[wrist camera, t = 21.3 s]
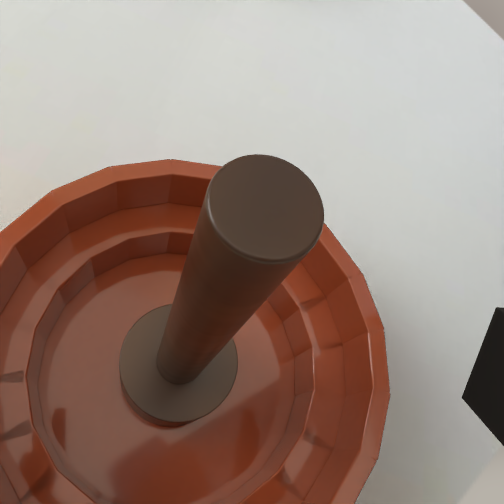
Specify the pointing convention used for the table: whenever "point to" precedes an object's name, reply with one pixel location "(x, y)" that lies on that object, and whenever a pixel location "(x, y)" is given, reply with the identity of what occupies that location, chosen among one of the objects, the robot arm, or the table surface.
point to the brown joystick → (220, 288)
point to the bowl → (137, 305)
